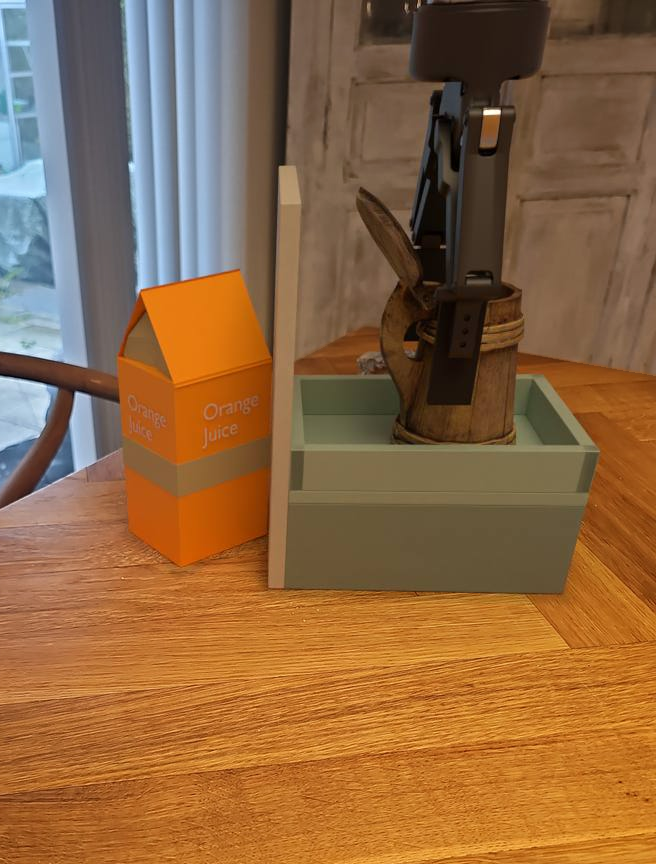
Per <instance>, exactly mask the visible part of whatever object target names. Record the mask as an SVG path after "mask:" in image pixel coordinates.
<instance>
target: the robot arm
mask: <svg viewBox="0 0 656 864" xmlns="http://www.w3.org/2000/svg"><path fill="white" fill-rule="evenodd" d="M549 3H550V1H549V0H426V4H427V5H419V6H418V7H417V11H416V12H414V13H413V21H412V33H411V42H410V53H409V62H408V73H409V76H410V77H411V78H412V79H413V80H414V81H417V82H424V83H441V84H443V83H444V86H443V89H433V90H432V93H431V96H429V102H428V103H429V115H428V122H427V129H426V135H425V138H424V145H423V151H422V157H421V160H420V161H421V162H420V167H419V171H418V177H417V184H416V188H415V195H414V199H413V205H412V210H411V216H410V218H409V220H408V226H409V230H410V232H412V233H411V237H410V241H411V243H412V245H413V247H417V248H414V249H415V251H416V253H417V255H418V257H419V259H420V262H421V264H422V268H423V281H429V282H439V283H441V284H444V283H446V287H437V289H436V290H435V293H434V296H433V302H434V303H435V302H439V310H438V317H437V325H436V332H435V340H434V347H433V355H432V362H431V369H430V377H429V384H428V392H427V399H426V402H427V404H428V405H471V401H472V395H473V389H474V383H475V377H476V371H477V365H478V359H479V353H480V347H481V341H482V335H483V329H484V323H485V317H486V311H487V305H488V302H489V301H490V298H498V296H499V295H500V292H501V289H502V282H501V281H502V273H503V260H504V259H503V257H504V244H505V243H504V242H505V227H506V214H507V213H506V212H507V200H508V199H507V197H508V183H509V168H510V153H511V145H512V140H513V132H514V131H513V130H514V124H515V123H516V119H517V112H516V106H515V105H514V104H509V105H501V96H502V94H501V90H502V85H503V83H504V82H505V81H519V80H526V79H531V78H533V77H535V76H536V75H537V74H538V73H539V72H540V70H541V69H542V64H543V59H544V53H545V47H546V42H547V36H548V30H549V24H550V19H551V14H552V6H549ZM441 246H442V247H441ZM443 246H445V247H443ZM418 322H419V320H418V321H415V322H413V323H412V324H411V325H410V326H409V327H408V329H407V331H406V333H405V335H404V340H403V342H419V337H420V336H419V335H417V334H416V327H417V324H418Z"/></svg>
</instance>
